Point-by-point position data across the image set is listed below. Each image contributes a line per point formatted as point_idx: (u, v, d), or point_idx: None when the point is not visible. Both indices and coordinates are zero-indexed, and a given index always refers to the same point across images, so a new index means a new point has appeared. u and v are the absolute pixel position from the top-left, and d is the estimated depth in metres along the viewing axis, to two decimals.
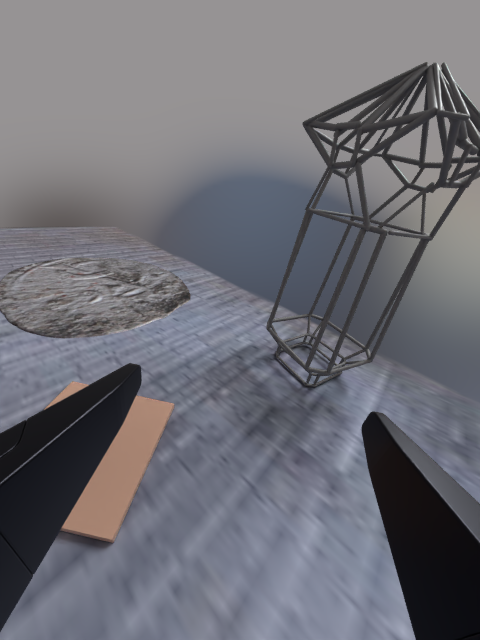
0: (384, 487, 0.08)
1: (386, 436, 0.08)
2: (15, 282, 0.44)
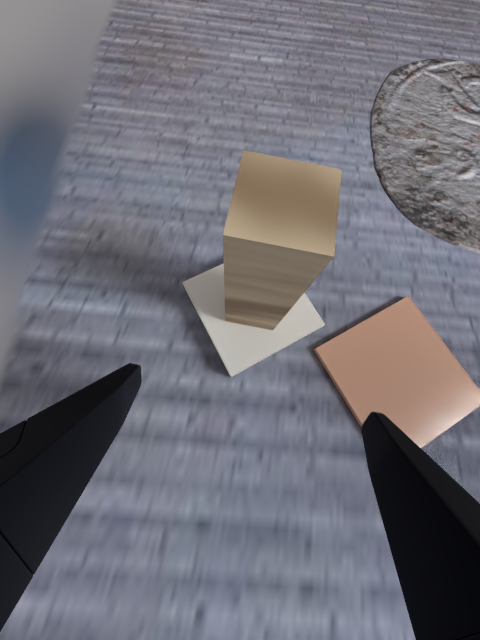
0: (384, 487, 0.08)
1: (386, 436, 0.08)
2: (393, 95, 0.34)
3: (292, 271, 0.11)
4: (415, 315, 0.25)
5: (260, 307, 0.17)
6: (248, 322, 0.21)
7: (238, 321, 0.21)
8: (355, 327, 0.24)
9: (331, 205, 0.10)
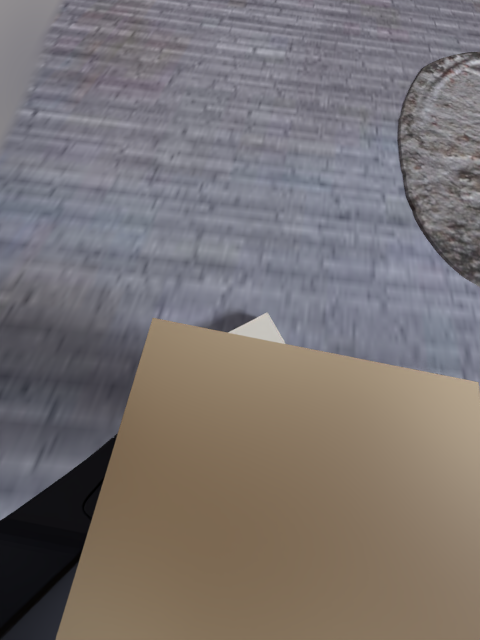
0: None
1: None
2: (427, 98, 0.27)
3: None
4: None
5: None
6: None
7: None
8: None
9: (467, 564, 0.03)
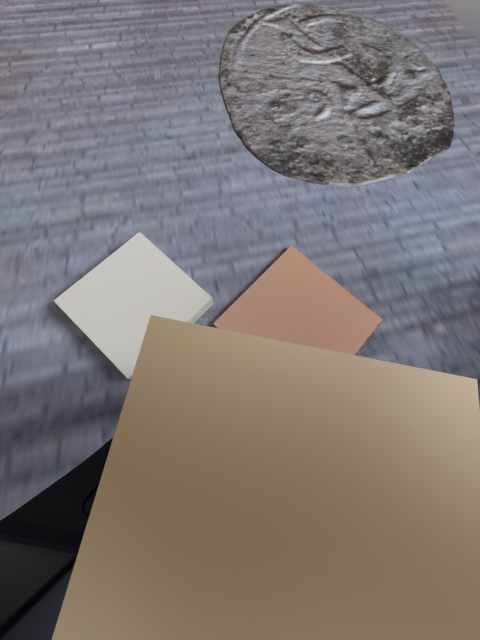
0: None
1: None
2: (237, 53, 0.34)
3: None
4: (301, 262, 0.25)
5: None
6: None
7: None
8: (247, 291, 0.24)
9: (466, 561, 0.03)
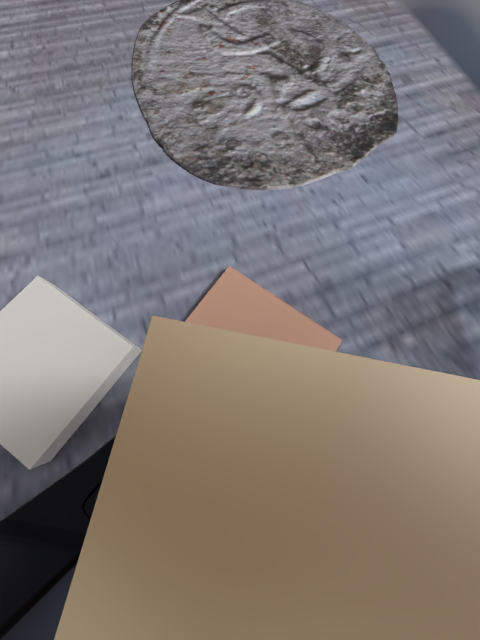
0: None
1: None
2: (150, 52, 0.30)
3: None
4: (243, 284, 0.22)
5: None
6: None
7: None
8: None
9: (469, 563, 0.03)
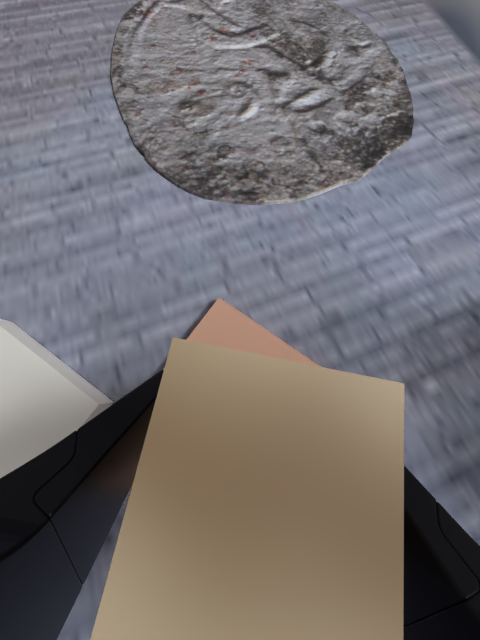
0: None
1: None
2: (133, 45, 0.26)
3: None
4: (235, 319, 0.18)
5: None
6: None
7: None
8: None
9: (386, 505, 0.04)
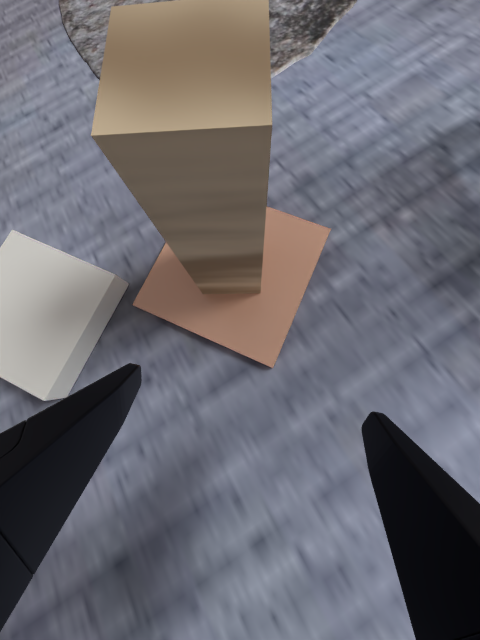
0: (384, 487, 0.08)
1: (386, 436, 0.08)
2: None
3: (228, 182, 0.07)
4: None
5: (227, 262, 0.13)
6: (228, 289, 0.18)
7: (216, 290, 0.18)
8: (161, 253, 0.20)
9: (258, 49, 0.06)
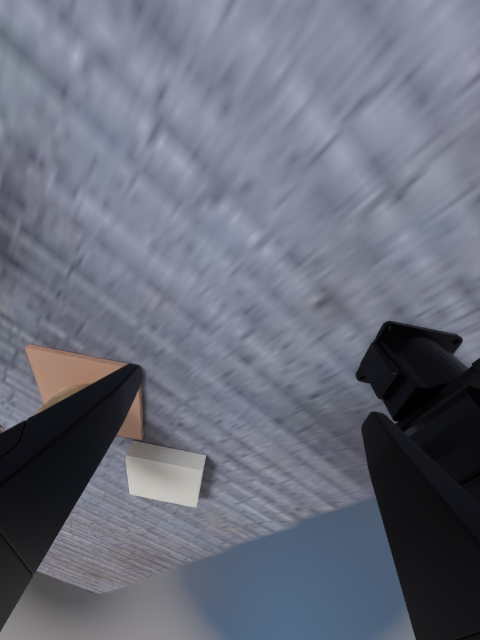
0: (384, 487, 0.08)
1: (386, 436, 0.08)
2: None
3: None
4: None
5: None
6: None
7: None
8: None
9: None
